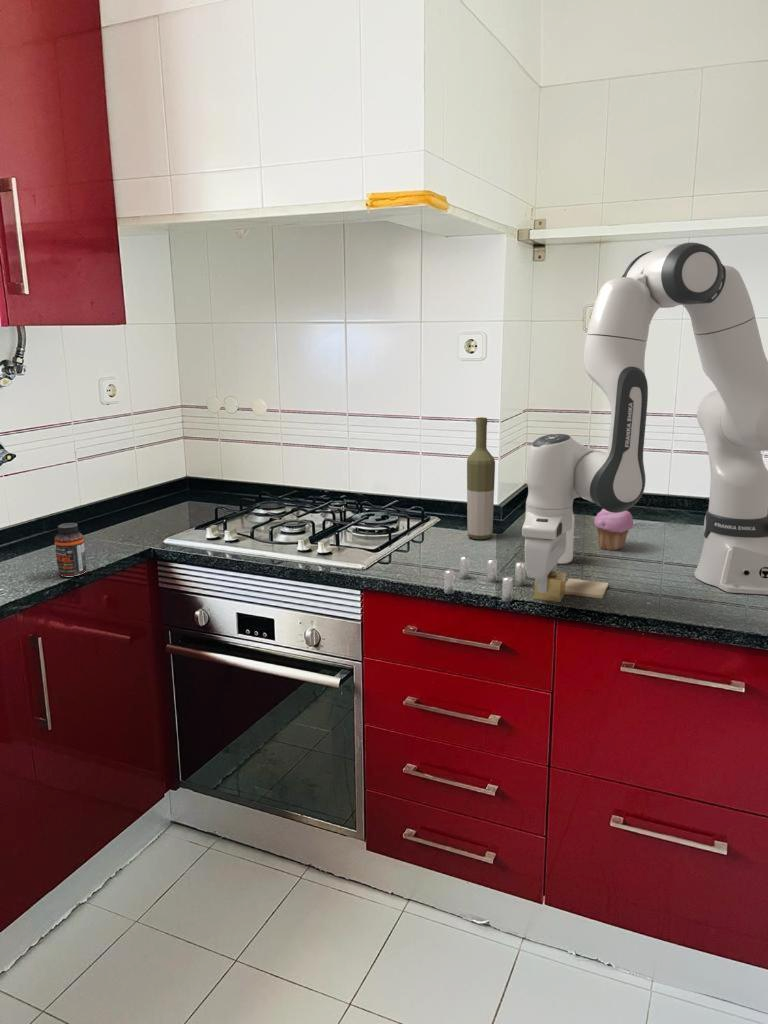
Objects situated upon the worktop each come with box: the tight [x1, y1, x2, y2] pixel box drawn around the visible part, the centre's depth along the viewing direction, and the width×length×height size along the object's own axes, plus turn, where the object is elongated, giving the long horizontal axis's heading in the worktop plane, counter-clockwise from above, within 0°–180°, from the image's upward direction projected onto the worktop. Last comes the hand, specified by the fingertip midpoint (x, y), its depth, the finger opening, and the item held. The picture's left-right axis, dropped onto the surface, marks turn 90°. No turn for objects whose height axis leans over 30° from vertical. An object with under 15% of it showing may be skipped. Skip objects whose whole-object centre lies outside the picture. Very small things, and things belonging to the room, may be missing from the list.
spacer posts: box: [443, 555, 526, 603], centre depth 160 cm, size 14×12×4 cm
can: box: [557, 508, 575, 565], centre depth 176 cm, size 6×6×12 cm
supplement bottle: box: [54, 522, 87, 576], centre depth 172 cm, size 6×6×11 cm
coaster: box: [565, 577, 609, 599], centre depth 159 cm, size 8×8×1 cm
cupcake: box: [593, 508, 634, 551], centre depth 185 cm, size 9×9×10 cm
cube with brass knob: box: [533, 571, 567, 603], centre depth 155 cm, size 5×5×5 cm
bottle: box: [466, 416, 496, 540], centre depth 194 cm, size 7×7×30 cm
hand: (546, 586), depth 155 cm, fingers closed on cube with brass knob, 5 cm apart
